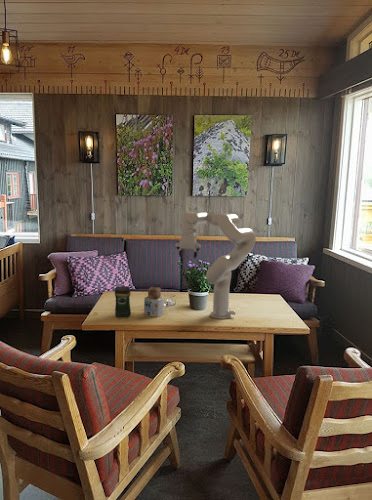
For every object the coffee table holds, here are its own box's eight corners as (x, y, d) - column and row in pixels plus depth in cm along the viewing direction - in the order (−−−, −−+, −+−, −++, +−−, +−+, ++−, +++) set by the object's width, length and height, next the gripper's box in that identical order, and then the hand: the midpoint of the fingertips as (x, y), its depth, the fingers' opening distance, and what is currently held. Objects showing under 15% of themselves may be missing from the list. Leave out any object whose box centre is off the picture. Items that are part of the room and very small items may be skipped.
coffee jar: (131, 313, 253) (131, 285, 250) (130, 318, 245) (130, 288, 242) (115, 313, 252) (115, 284, 249) (114, 318, 244) (113, 288, 241)
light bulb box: (143, 314, 252) (143, 297, 250) (149, 311, 258) (149, 295, 256) (158, 317, 247) (158, 300, 246) (164, 314, 253) (164, 297, 251)
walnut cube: (160, 296, 253) (160, 287, 252) (157, 299, 247) (157, 290, 246) (151, 296, 255) (151, 286, 254) (148, 298, 249) (148, 289, 248)
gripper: (202, 231, 264) (202, 257, 267) (177, 229, 268) (176, 255, 271) (200, 232, 257) (199, 259, 259) (174, 231, 261) (173, 257, 264)
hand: (187, 257), depth 265 cm, fingers open, 9 cm apart
